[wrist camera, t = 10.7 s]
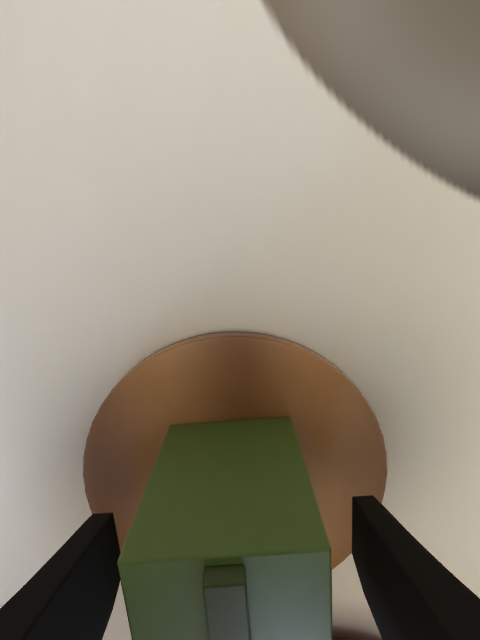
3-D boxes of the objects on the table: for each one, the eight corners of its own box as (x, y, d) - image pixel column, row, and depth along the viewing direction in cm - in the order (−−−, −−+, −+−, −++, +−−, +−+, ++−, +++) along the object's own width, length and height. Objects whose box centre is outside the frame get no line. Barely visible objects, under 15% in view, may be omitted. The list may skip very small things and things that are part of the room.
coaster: (114, 593, 14) (109, 609, 13) (63, 342, 11) (54, 348, 10) (377, 577, 13) (383, 592, 13) (384, 320, 11) (393, 324, 10)
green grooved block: (185, 542, 12) (145, 767, 7) (169, 424, 11) (107, 583, 6) (295, 535, 12) (339, 755, 7) (290, 415, 11) (338, 569, 6)
